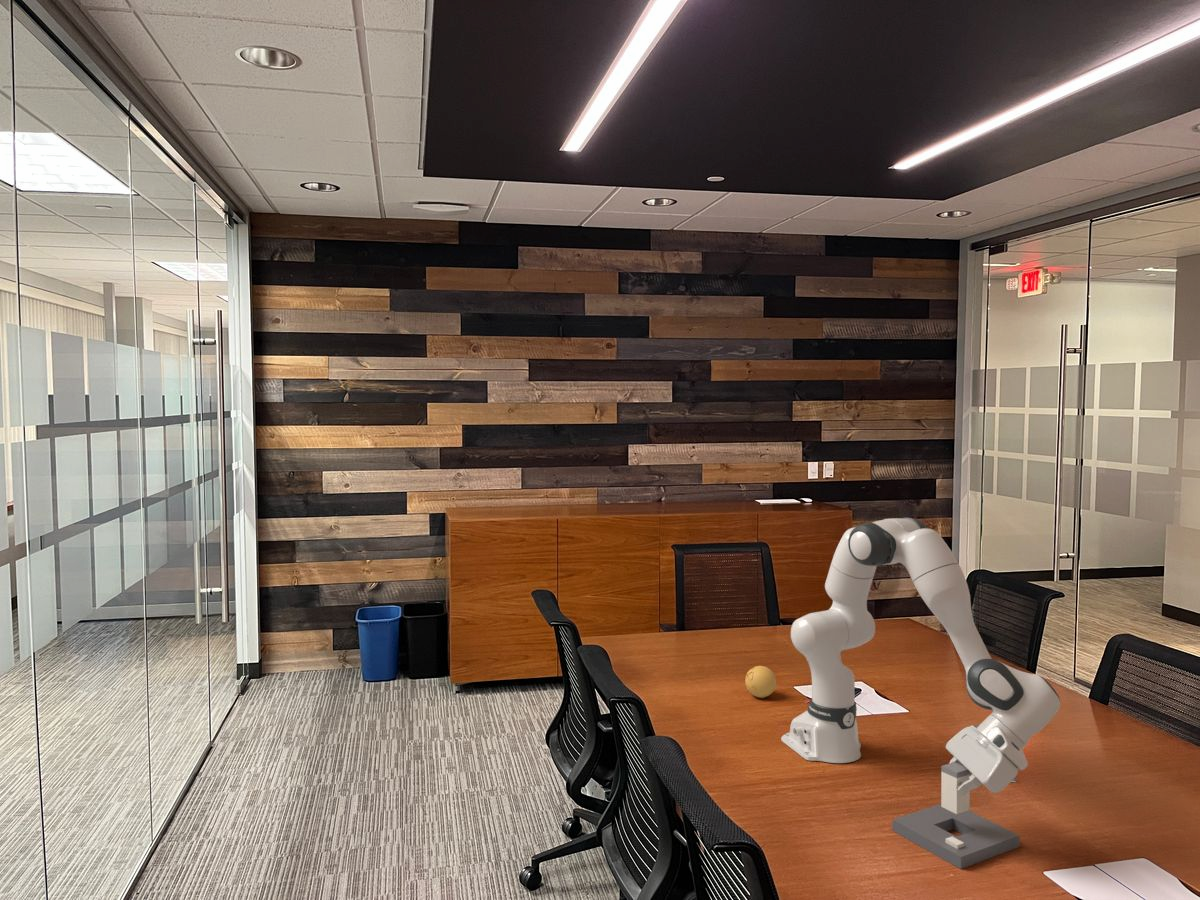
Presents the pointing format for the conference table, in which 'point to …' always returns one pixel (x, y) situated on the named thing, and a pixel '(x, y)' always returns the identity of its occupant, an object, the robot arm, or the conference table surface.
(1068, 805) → the conference table surface
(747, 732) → the conference table surface
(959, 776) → the plug
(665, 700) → the conference table surface
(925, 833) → the socket plate
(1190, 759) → the conference table surface
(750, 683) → the stress ball
